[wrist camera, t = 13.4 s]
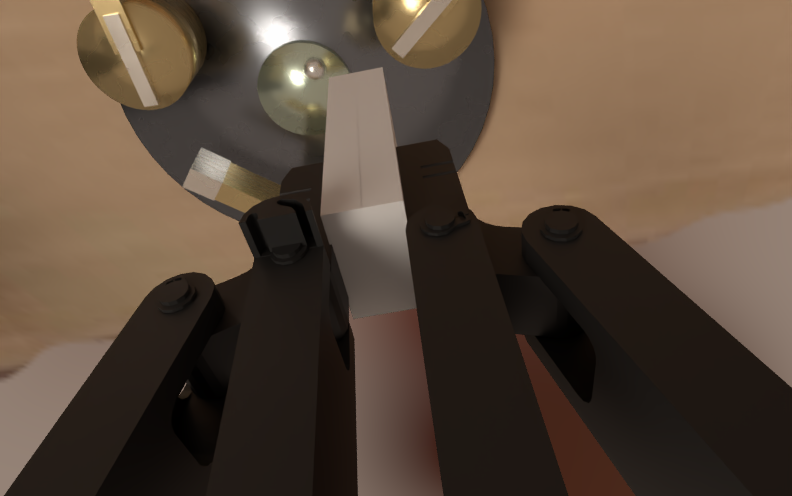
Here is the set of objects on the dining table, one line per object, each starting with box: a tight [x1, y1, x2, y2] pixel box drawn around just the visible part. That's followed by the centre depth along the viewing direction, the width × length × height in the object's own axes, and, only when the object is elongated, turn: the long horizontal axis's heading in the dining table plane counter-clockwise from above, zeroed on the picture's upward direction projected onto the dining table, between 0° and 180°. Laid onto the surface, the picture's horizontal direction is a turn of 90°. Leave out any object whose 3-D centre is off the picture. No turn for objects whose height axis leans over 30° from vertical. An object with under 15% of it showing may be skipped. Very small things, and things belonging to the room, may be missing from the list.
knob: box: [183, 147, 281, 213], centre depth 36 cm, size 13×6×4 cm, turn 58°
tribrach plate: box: [121, 0, 494, 221], centre depth 33 cm, size 24×24×2 cm
